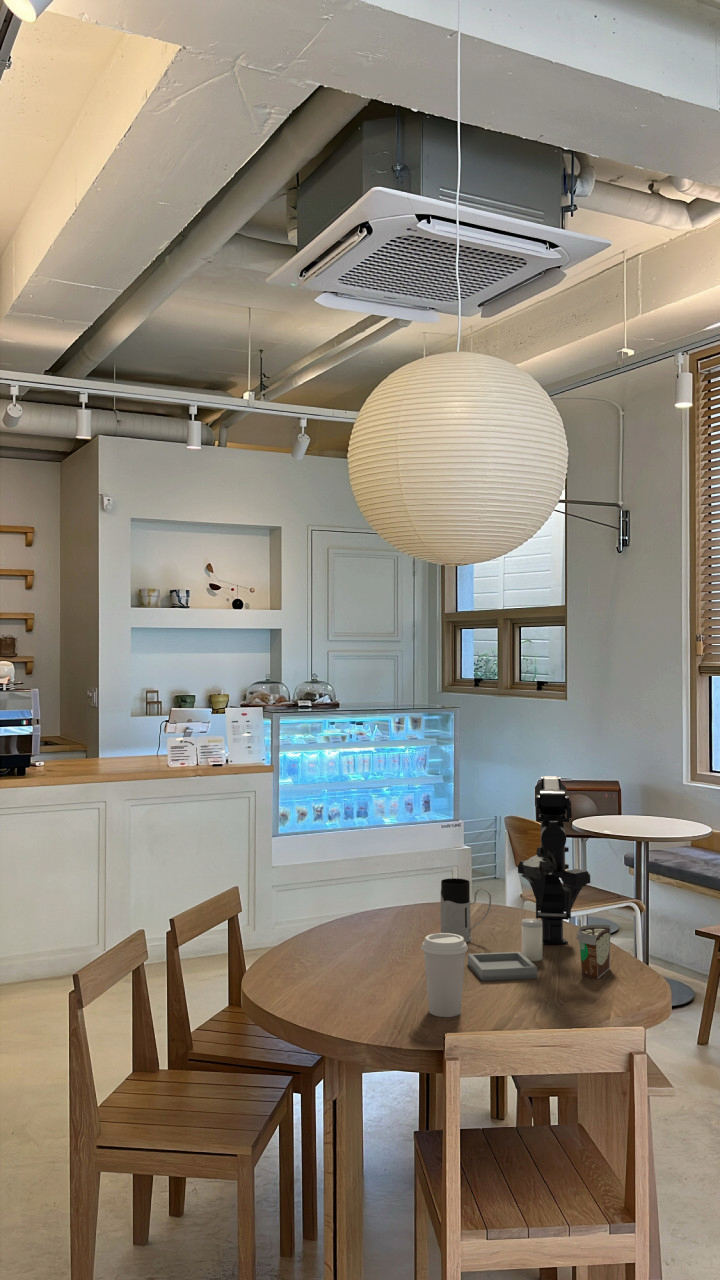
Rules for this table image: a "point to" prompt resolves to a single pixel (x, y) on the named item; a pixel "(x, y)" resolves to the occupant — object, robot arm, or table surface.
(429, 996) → the coffee cup
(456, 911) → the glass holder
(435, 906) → the table surface
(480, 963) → the tray
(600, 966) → the food container
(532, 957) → the cylinder
